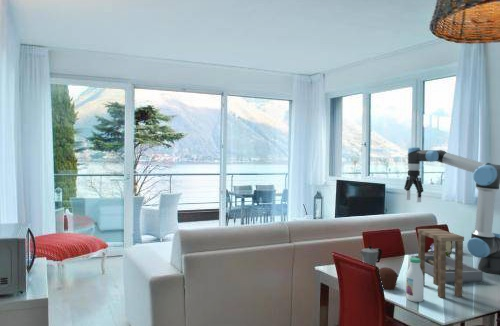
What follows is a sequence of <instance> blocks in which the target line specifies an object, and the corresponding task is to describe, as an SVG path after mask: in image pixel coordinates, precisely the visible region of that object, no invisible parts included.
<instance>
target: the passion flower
mask: <svg viewBox="0 0 500 326" xmlns="http://www.w3.org/2000/svg"><path fill="white" fill-rule="evenodd" d="M429 247H430V249H427V252H429V253H430V252H432V254H431V255H434V242H433V243H430V246H429ZM446 256H447V257H450V253H448V251H447V249H446Z"/></svg>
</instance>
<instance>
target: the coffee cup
mask: <svg viewBox="0 0 500 326" xmlns="http://www.w3.org/2000/svg"><path fill="white" fill-rule="evenodd" d="M452 244H453V241H446V249H447V251H448V253H449V254H450V253H451V252H452Z"/></svg>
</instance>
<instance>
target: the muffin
mask: <svg viewBox="0 0 500 326" xmlns="http://www.w3.org/2000/svg"><path fill="white" fill-rule="evenodd" d="M378 270H379V273H380V277H381V281H382V285H383V288H384V289H383V290H387V291H393V290H395V289H396V286H397V282H398V281H397V280H398V278H399V275H398V274H397V272H396V271H395V270H394V269H393V268H390V267H380V268H378Z"/></svg>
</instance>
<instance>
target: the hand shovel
mask: <svg viewBox="0 0 500 326" xmlns="http://www.w3.org/2000/svg"><path fill="white" fill-rule="evenodd" d="M427 262H428V263H429V264H431V265H433V266H434V261H432V260H428V261H427ZM446 272H455V270H450V269H449V268H447V267H446Z"/></svg>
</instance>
